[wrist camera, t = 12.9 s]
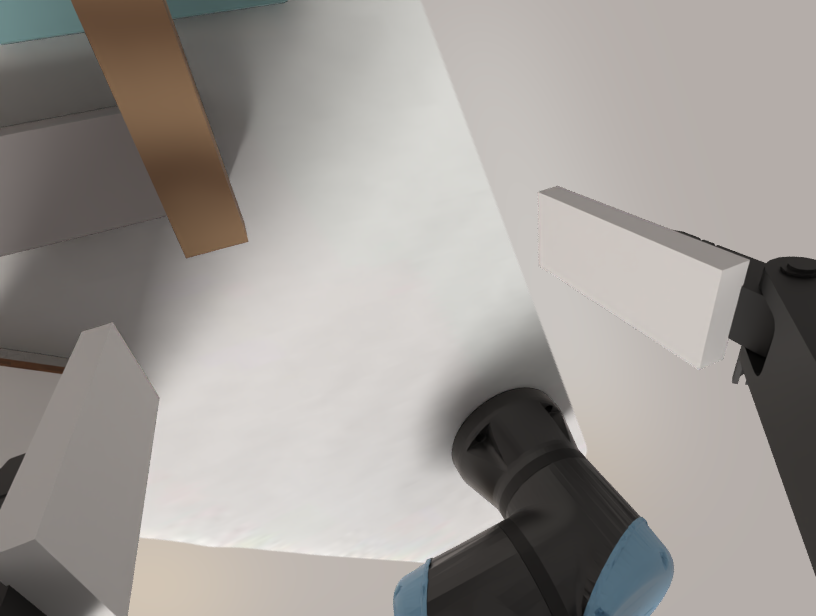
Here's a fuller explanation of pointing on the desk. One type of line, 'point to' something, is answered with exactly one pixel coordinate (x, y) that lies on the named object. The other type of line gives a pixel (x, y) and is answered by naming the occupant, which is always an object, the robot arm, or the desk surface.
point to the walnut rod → (165, 118)
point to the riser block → (71, 180)
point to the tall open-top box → (24, 397)
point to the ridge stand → (55, 16)
